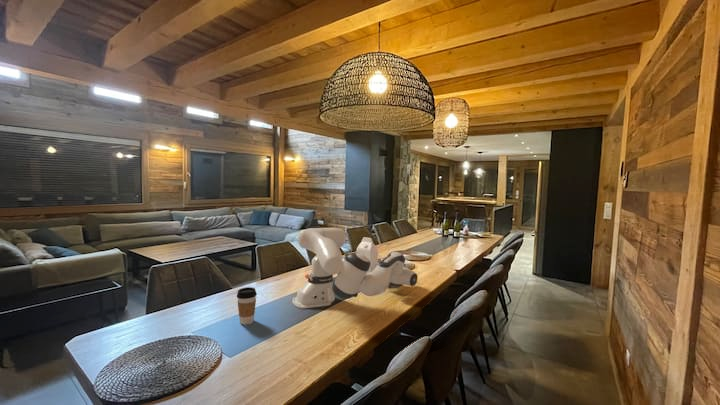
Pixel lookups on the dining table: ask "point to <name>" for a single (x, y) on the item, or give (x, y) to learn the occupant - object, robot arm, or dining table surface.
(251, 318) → the coffee cup
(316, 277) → the robot arm
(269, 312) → the dining table surface
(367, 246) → the milk
